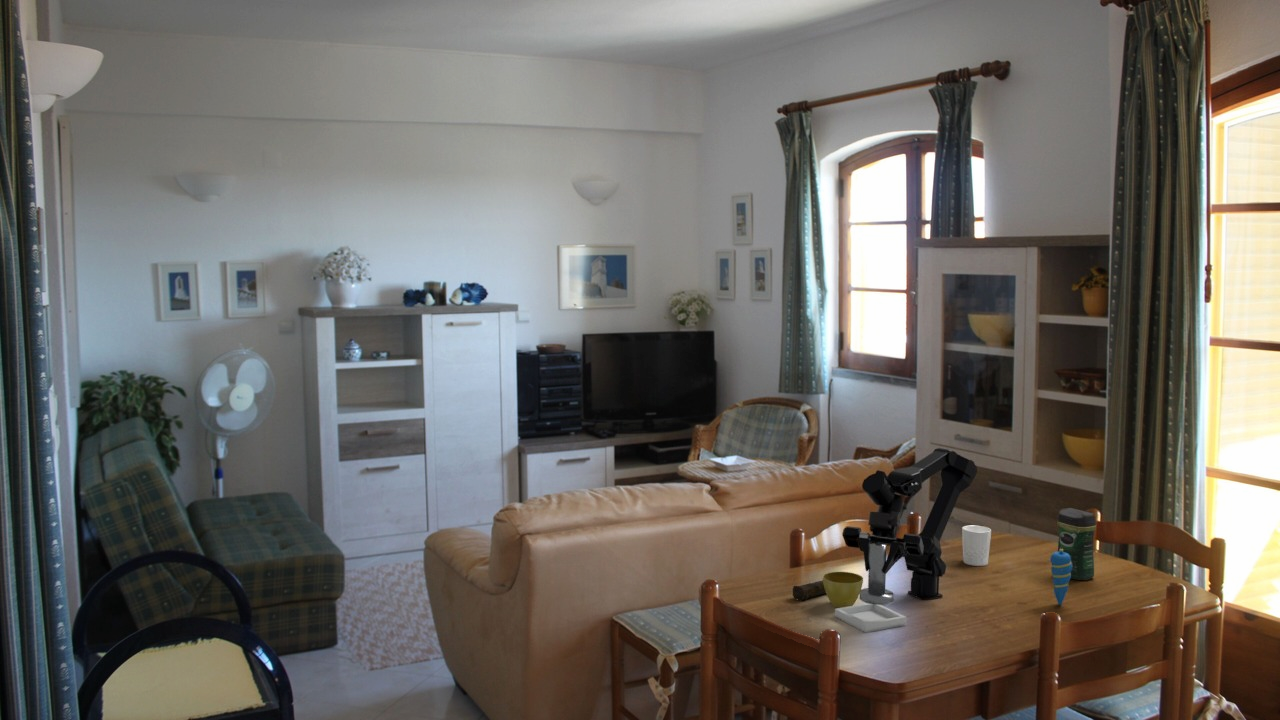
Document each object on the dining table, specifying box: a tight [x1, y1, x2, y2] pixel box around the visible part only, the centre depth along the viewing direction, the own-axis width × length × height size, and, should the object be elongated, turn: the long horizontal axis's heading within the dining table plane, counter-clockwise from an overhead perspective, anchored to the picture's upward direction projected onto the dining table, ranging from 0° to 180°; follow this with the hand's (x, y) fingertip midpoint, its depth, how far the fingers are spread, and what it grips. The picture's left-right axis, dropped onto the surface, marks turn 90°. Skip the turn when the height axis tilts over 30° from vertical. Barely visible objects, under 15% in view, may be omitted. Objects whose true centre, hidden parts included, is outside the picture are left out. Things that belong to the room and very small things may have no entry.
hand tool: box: [792, 579, 826, 602], centre depth 269 cm, size 19×4×5 cm, turn 122°
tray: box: [834, 603, 907, 634], centre depth 249 cm, size 12×12×2 cm
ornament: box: [1050, 548, 1073, 606], centre depth 261 cm, size 5×5×15 cm
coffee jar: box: [1056, 507, 1097, 581], centre depth 285 cm, size 10×8×19 cm
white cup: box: [961, 524, 992, 567], centre depth 297 cm, size 8×8×10 cm
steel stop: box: [858, 542, 895, 606], centre depth 247 cm, size 8×8×14 cm
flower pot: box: [822, 571, 864, 608], centre depth 260 cm, size 10×10×7 cm
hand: (875, 571), depth 245 cm, fingers closed on steel stop, 4 cm apart
